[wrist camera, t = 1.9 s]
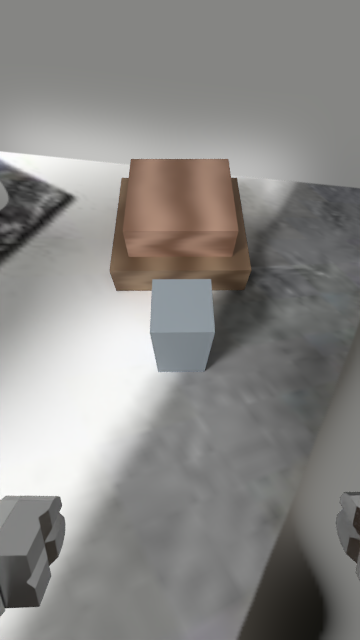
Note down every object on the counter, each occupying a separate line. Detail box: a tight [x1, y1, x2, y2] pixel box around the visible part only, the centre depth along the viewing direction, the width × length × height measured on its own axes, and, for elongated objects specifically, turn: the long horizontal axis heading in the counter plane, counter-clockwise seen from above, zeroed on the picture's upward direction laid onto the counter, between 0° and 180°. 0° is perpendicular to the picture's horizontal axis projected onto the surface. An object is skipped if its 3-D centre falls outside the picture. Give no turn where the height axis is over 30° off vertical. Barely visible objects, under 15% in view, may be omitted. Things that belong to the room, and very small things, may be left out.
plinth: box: [110, 159, 251, 291], centre depth 36 cm, size 16×16×8 cm
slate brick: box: [150, 279, 215, 372], centre depth 27 cm, size 5×5×10 cm
